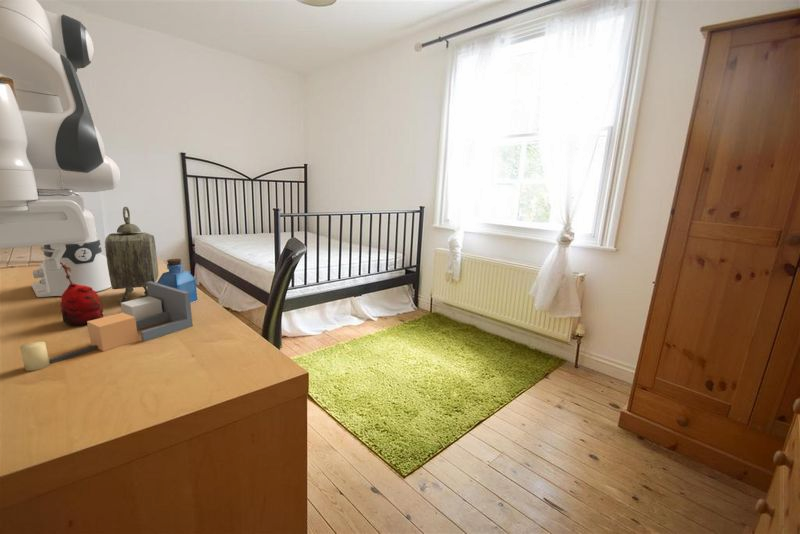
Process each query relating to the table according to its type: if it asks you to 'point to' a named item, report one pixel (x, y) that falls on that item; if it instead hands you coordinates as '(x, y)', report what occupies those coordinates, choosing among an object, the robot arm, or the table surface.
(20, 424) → the table surface
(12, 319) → the table surface
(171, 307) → the lane rack
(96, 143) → the robot arm
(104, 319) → the tan block and knob
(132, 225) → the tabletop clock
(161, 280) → the perfume bottle
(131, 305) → the white block
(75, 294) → the red clay folk toy
